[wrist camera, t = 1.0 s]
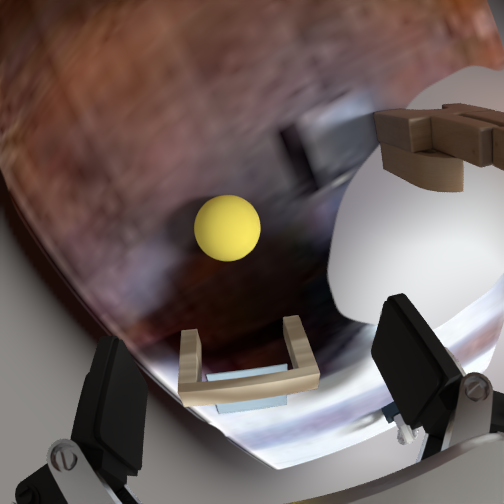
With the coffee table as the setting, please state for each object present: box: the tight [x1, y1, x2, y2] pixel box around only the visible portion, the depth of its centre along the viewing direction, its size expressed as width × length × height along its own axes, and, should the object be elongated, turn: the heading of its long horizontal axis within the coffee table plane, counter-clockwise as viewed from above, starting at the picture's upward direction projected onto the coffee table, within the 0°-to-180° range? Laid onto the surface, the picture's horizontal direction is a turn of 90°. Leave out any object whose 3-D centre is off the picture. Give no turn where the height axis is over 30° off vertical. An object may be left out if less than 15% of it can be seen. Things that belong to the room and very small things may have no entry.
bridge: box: [178, 315, 320, 407], centre depth 33 cm, size 3×15×10 cm, turn 94°
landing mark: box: [206, 363, 287, 414], centre depth 44 cm, size 12×12×1 cm
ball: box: [194, 195, 260, 261], centre depth 27 cm, size 6×6×6 cm
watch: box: [381, 402, 418, 445], centre depth 52 cm, size 6×8×11 cm
